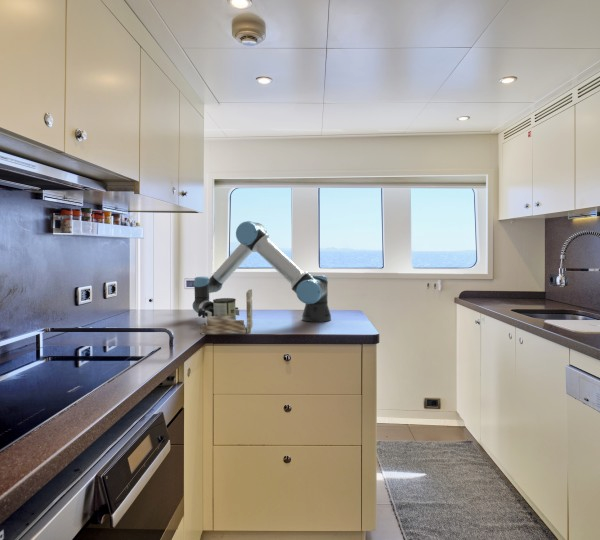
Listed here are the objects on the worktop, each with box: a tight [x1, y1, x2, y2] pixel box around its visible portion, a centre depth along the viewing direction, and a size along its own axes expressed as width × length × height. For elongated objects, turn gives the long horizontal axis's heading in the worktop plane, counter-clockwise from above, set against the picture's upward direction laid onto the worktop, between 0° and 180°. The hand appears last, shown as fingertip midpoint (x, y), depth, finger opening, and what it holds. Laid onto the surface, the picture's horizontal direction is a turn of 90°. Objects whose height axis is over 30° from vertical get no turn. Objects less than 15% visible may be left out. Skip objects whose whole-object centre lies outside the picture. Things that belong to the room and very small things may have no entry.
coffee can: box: [212, 297, 237, 320], centre depth 193 cm, size 10×10×14 cm
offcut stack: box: [200, 316, 246, 331], centre depth 183 cm, size 19×2×6 cm, turn 93°
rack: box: [199, 288, 254, 334], centre depth 190 cm, size 22×16×18 cm
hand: (225, 313), depth 191 cm, fingers open, 13 cm apart
